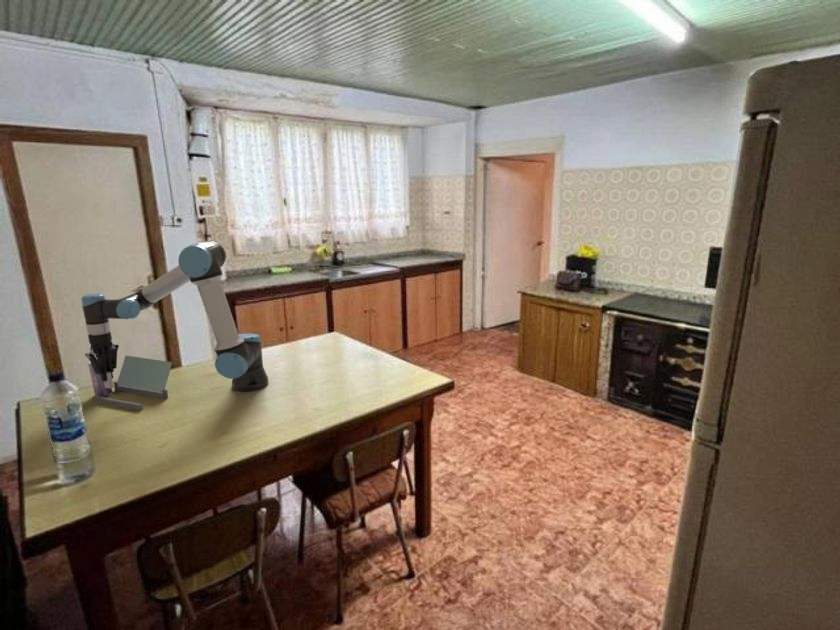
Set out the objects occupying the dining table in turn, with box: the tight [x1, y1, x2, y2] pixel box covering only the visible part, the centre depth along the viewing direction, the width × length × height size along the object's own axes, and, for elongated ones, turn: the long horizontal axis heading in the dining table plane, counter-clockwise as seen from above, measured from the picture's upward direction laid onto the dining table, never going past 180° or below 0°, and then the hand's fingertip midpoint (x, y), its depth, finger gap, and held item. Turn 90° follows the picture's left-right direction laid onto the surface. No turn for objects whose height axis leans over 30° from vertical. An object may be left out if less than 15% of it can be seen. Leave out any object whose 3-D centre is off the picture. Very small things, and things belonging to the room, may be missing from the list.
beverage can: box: [87, 360, 113, 398], centre depth 188 cm, size 6×6×15 cm
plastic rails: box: [92, 381, 169, 411], centre depth 185 cm, size 27×12×4 cm, turn 74°
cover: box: [116, 355, 173, 392], centre depth 192 cm, size 24×13×1 cm
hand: (109, 387), depth 187 cm, fingers closed
